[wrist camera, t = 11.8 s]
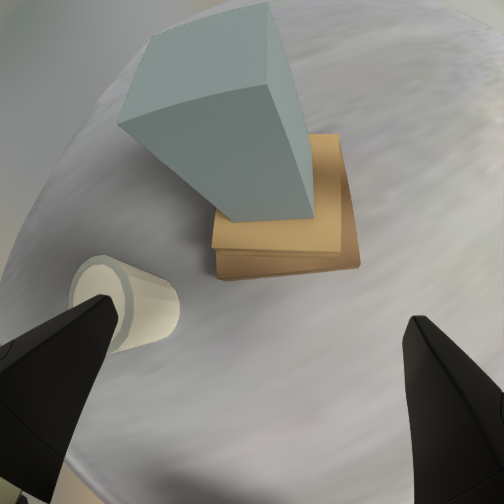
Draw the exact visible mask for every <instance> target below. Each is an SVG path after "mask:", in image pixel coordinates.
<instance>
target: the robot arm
mask: <svg viewBox="0 0 504 504" xmlns="http://www.w3.org/2000/svg"><path fill="white" fill-rule="evenodd" d="M117 323H118V313H117V310H116V308H115V305H114V303H113V300H112V298H111V297H110V296H109V295H104V294H98V295H96V296H94V297H92V298H90V299H88V300H86V301H84V302H82V303H80V304H79V305H77V306H75V307H73V308H71V309H69V310H67V311H65V312H63V313H61V314H60V315H58V316H56V317H54V318H52V319H50V320H48V321H47V322H45V323H43V324H41V325H39V326H37V327H35V328H34V329H32V330H30V331H28V332H26V333H24V334H23V335H21V336H19V337H17V338H16V339H14V340H12V341H10V342H8V343H6V344H5V345H3V346H1V347H0V504H28V501H27V498H26V497H25V496H24V495H23V494H22V491H24V492H26V493H28V494H30V495H32V496H33V497H35V498H37V499H39V500H41V501H43V502H45V503H47V504H50V502H51V499H52V496H53V493H54V489H55V486H56V483H57V479H58V476H59V473H60V470H61V467H62V464H63V461H64V458H65V455H66V452H67V449H68V446H69V444H70V441H71V438H72V436H73V433H74V430H75V428H76V425H77V422H78V420H79V417H80V415H81V412H82V410H83V407H84V405H85V403H86V400H87V398H88V395H89V393H90V391H91V388H92V386H93V384H94V382H95V379H96V377H97V375H98V373H99V370H100V368H101V366H102V364H103V361H104V359H105V356H106V354H107V351H108V348H109V345H110V342H111V339H112V337H113V334H114V331H115V329H116V326H117ZM402 346H403V359H404V374H405V391H406V399H407V406H408V414H409V422H410V431H411V441H412V453H413V469H414V504H504V392H502V390H501V389H500V388H499V387H498V386H497V385H496V383H495V382H494V381H493V380H492V379H491V378H490V377H489V376H488V375H487V374H486V373H485V372H484V371H483V370H482V369H481V368H480V367H479V366H478V365H477V364H476V363H475V362H474V361H473V360H472V359H471V358H470V357H469V356H468V355H467V354H466V353H465V352H464V351H463V350H462V349H461V348H460V347H458V346H457V345H456V344H455V343H454V342H453V341H452V340H451V339H450V338H449V337H448V336H447V335H446V334H445V333H444V332H443V331H441V330H440V329H439V328H438V327H437V326H436V325H435V324H434V323H433V322H432V321H431V320H429V319H428V318H427V317H426V316H424V315H416V316H412V317H411V318H410V320H409V322H408V325H407V328H406V331H405V333H404V336H403V341H402Z"/></svg>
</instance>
